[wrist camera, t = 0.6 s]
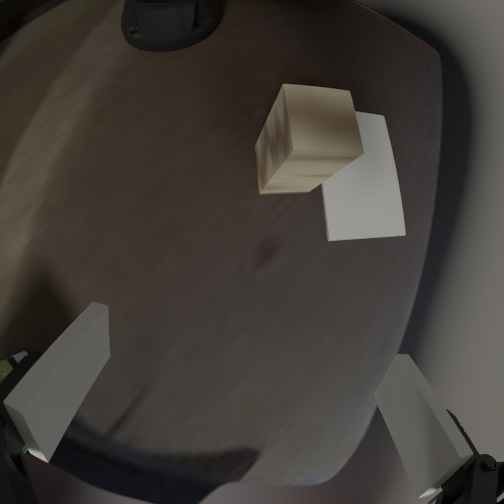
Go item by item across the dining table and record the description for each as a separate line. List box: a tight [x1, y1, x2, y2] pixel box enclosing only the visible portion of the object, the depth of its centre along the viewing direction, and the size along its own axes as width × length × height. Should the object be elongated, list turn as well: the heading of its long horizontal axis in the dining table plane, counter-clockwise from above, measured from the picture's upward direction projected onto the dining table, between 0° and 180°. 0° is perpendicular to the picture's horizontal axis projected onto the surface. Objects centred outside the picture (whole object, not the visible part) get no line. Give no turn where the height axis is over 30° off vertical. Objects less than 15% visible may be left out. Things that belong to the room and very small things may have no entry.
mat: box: [321, 111, 406, 241], centre depth 36 cm, size 18×12×1 cm, turn 5°
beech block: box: [254, 84, 364, 195], centre depth 28 cm, size 6×6×14 cm
